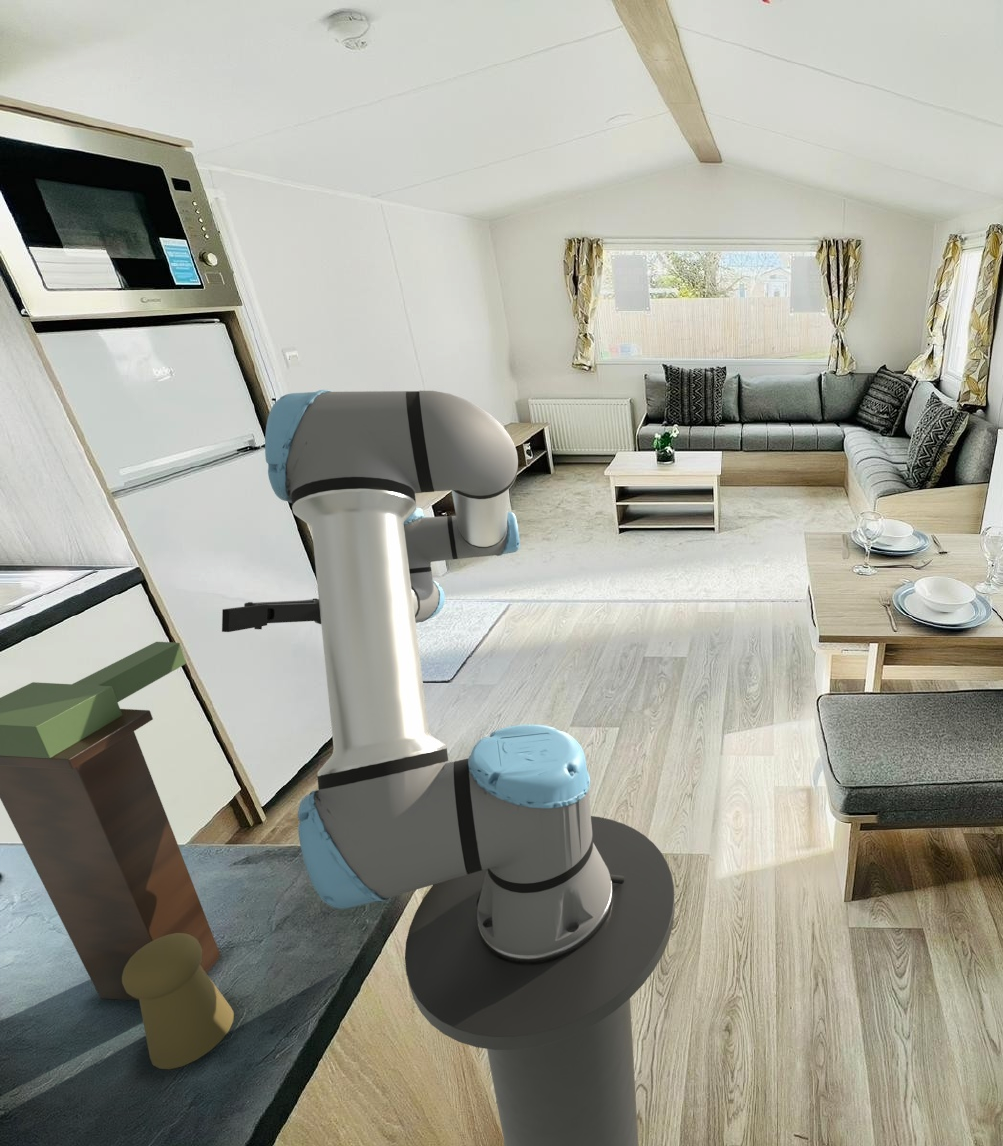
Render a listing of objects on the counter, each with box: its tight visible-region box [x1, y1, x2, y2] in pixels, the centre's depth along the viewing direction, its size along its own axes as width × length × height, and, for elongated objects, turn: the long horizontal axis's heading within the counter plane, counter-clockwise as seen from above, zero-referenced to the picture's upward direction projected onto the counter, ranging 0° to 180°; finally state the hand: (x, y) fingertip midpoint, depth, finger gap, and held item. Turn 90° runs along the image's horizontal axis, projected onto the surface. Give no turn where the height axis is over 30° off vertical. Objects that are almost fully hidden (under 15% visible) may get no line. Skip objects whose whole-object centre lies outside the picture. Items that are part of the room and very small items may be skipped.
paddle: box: [0, 641, 187, 758], centre depth 57 cm, size 7×15×3 cm, turn 178°
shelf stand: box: [0, 708, 222, 1002], centre depth 60 cm, size 10×7×30 cm
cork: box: [122, 933, 235, 1070], centre depth 58 cm, size 6×6×11 cm
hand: (284, 623), depth 77 cm, fingers open, 13 cm apart
